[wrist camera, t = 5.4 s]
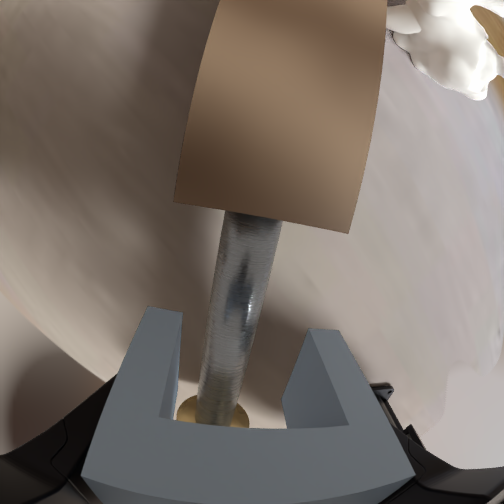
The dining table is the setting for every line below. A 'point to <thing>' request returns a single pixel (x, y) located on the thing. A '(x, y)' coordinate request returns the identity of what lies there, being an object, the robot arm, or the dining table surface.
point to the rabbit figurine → (448, 42)
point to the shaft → (232, 318)
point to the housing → (284, 110)
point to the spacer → (243, 434)
